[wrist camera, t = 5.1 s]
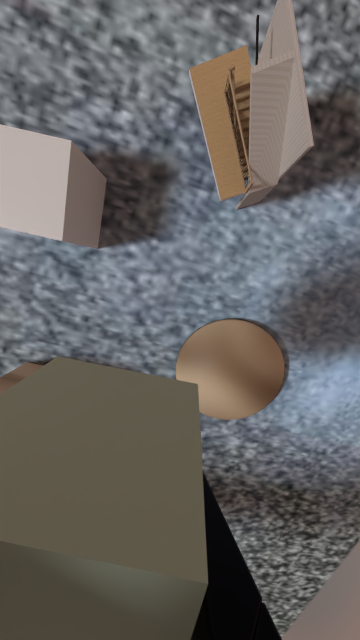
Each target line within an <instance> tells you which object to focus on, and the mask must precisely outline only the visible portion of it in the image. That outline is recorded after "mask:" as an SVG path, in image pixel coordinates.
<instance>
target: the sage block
mask: <svg viewBox="0 0 360 640" xmlns="http://www.w3.org/2000/svg"><path fill="white" fill-rule="evenodd" d="M207 586H208V569H207V550H206V530H205V511H204V491H203V471H202V452H201V432H200V413H199V393H198V384H195V383H190V382H185V381H180V380H175V379H170V378H165V377H160V376H155V375H150V374H145V373H140V372H134V371H129V370H124V369H119V368H114V367H109V366H104V365H99V364H94V363H89V362H84V361H79V360H74V359H69V358H64V357H59V356H58V357H56V358H55V359H53V360H52V361H50V362H49V363H47V364H46V365H44V366H43V367H41V368H40V369H38V370H36V371H35V372H33V373H32V374H30V375H29V376H27V377H26V378H24V379H23V380H21V381H20V382H18V383H17V384H15V385H14V386H12V387H11V388H9V389H8V390H6V391H5V392H3V393H1V394H0V640H191V636H192V633H193V630H194V627H195V624H196V621H197V617H198V614H199V611H200V608H201V605H202V602H203V599H204V595H205V592H206V589H207Z"/></svg>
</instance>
